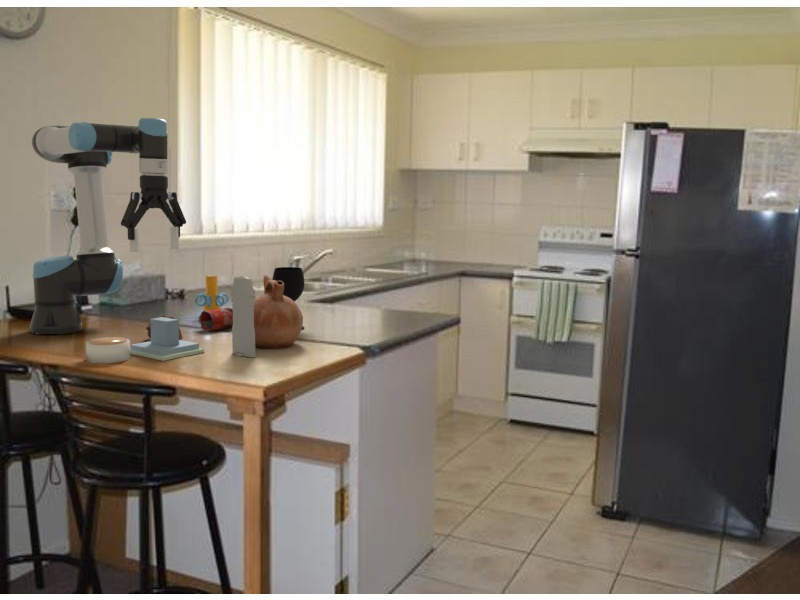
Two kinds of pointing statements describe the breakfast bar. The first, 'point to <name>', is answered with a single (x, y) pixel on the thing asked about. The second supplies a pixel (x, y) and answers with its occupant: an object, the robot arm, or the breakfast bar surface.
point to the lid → (164, 338)
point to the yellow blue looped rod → (211, 295)
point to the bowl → (108, 350)
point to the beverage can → (216, 319)
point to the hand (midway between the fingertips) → (154, 250)
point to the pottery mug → (165, 317)
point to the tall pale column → (243, 317)
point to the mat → (169, 356)
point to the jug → (276, 317)
